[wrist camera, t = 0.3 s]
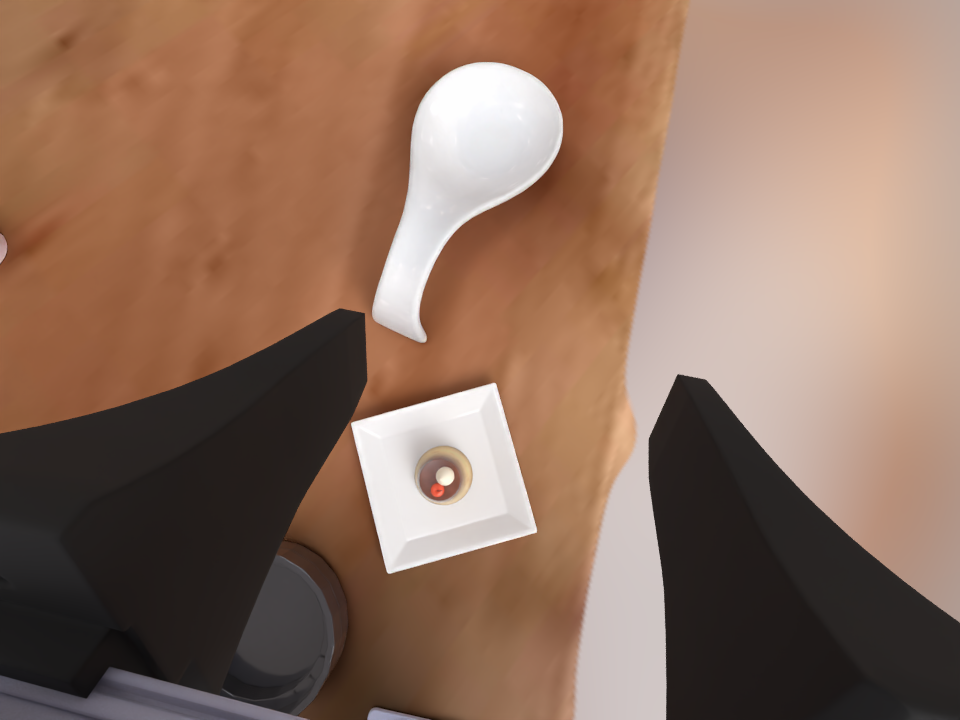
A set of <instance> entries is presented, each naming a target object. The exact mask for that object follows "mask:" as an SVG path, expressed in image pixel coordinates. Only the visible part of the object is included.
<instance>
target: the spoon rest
mask: <svg viewBox="0 0 960 720" xmlns="http://www.w3.org/2000/svg"><path fill="white" fill-rule="evenodd" d="M562 136H563V120H562V114H561V111H560V108H559V105H558V103H557V101H556V99H555V97H554V96H553V94H552V93H551V91H550V90H549V89H548V88H547V87H546V86H545V85H544V84H543V83H542V82H541V81H540V80H538V79H537V78H536V77H534V76H532V75H531V74H529V73H527V72H525V71H523V70H521V69H518V68H516V67H513V66H510V65H507V64H503V63H495V62H478V63H472V64H467V65H464V66H461V67H459V68H457V69H454V70H452V71H451V72H449V73H447V74H446V75H444V76H443V77H442V78H441V79H439V80H438V81H437V82H436V83H435V84H434V85H433V86H432V87H431V88H430V89H429V91H428V92H427V93H426V94H425V96H424V98H423V99H422V101H421V103H420V105H419V107H418V110H417V113H416V116H415V119H414V123H413V128H412V135H411V149H410V171H409V185H408V193H407V197H406V203H405V207H404V211H403V214H402V218H401V221H400V223H399V226H398V229H397V231H396V234H395V237H394V240H393V242H392V245H391V248H390V251H389V254H388V257H387V260H386V263H385V266H384V269H383V272H382V275H381V278H380V281H379V284H378V288H377V291H376V295H375V298H374V303H373V307H372V317H373V319H374V320H375V321H376V322H377V323H379V324H381V325H383V326H385V327H387V328H389V329H391V330H393V331H395V332H398V333H400V334H402V335H404V336H406V337H409V338H411V339H413V340H415V341H418V342H421V343H424V342H426V340H427V336H426V333H425V331H424V329H423V327H422V325H421V323H420V317H419V310H420V302H421V298H422V294H423V291H424V288H425V285H426V282H427V279H428V277H429V274H430V272H431V270H432V267H433V265H434V263H435V261H436V259H437V258H438V256H439V254H440V252H441V250H442V249H443V247H444V245H445V244H446V243H447V241H448V240H449V238H450V237H451V236H452V235H453V234H454V232H455V231H456V230H457V229H458V228H459V227H461V226H462V225H463V224H464V223H466V222H467V221H468V220H470V219H471V218H473V217H475V216H476V215H478V214H480V213H482V212H484V211H486V210H488V209H490V208H493V207H495V206H497V205H499V204H501V203H503V202H505V201H507V200H509V199H511V198H513V197H514V196H516V195H518V194H519V193H521V192H523V191H524V190H526V189H527V188H528V187H530V186H531V185H532V184H534V183H535V182H536V181H537V180H538V179H539V178H540V177H541V176H542V175H543V174H544V173H545V172H546V171H547V170H548V168H549V167H550V166H551V164H552V162H553V161H554V159H555V157H556V156H557V154H558V152H559V149H560V146H561V142H562Z"/></svg>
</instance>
